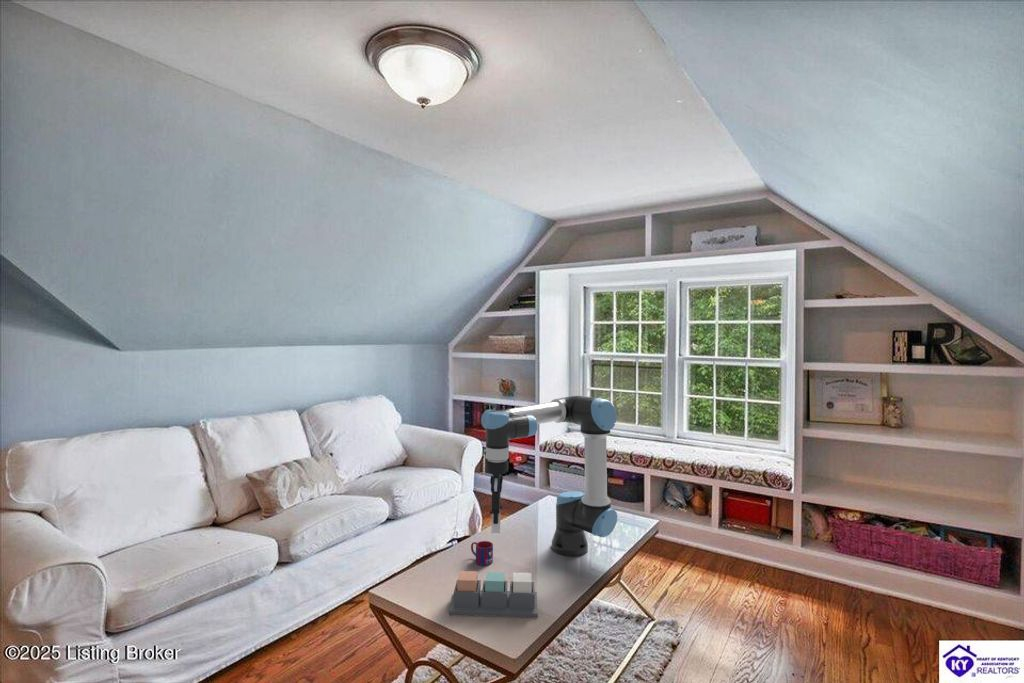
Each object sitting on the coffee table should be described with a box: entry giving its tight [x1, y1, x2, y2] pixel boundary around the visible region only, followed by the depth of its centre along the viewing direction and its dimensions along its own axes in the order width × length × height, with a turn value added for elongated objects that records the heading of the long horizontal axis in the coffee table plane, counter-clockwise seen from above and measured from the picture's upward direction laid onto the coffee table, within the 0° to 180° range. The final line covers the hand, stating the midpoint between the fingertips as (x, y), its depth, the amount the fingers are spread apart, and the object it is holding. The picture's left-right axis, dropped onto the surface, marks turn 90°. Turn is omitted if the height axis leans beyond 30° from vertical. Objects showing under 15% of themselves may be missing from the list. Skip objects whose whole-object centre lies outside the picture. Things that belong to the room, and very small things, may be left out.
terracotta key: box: [456, 570, 479, 592], centre depth 158 cm, size 6×6×5 cm
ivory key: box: [512, 571, 533, 593], centre depth 158 cm, size 6×6×5 cm
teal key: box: [484, 571, 505, 592], centre depth 158 cm, size 6×6×5 cm
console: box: [448, 579, 539, 619], centre depth 158 cm, size 28×13×6 cm, turn 89°
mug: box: [470, 540, 494, 567], centre depth 189 cm, size 7×10×7 cm
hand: (495, 530), depth 158 cm, fingers open, 2 cm apart
